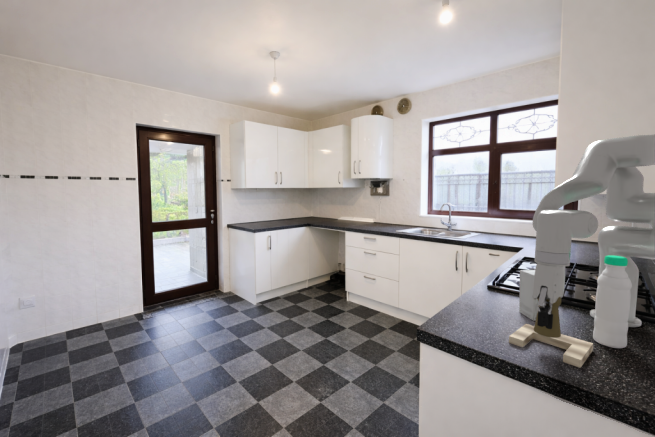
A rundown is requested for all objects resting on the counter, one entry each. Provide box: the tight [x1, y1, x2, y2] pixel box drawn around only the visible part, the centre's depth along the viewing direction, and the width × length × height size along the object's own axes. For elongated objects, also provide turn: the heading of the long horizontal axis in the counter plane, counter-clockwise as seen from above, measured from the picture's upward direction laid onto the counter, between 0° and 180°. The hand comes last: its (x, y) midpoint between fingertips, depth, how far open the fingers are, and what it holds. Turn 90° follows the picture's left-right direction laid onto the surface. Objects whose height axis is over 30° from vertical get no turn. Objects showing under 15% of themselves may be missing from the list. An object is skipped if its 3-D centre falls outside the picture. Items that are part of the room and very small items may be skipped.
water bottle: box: [592, 255, 632, 349], centre depth 85 cm, size 7×7×25 cm
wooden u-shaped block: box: [508, 323, 594, 368], centre depth 84 cm, size 13×16×2 cm
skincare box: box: [518, 269, 538, 322], centre depth 104 cm, size 8×7×16 cm
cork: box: [533, 294, 562, 338], centre depth 81 cm, size 6×6×11 cm
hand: (547, 324), depth 82 cm, fingers closed on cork, 4 cm apart
